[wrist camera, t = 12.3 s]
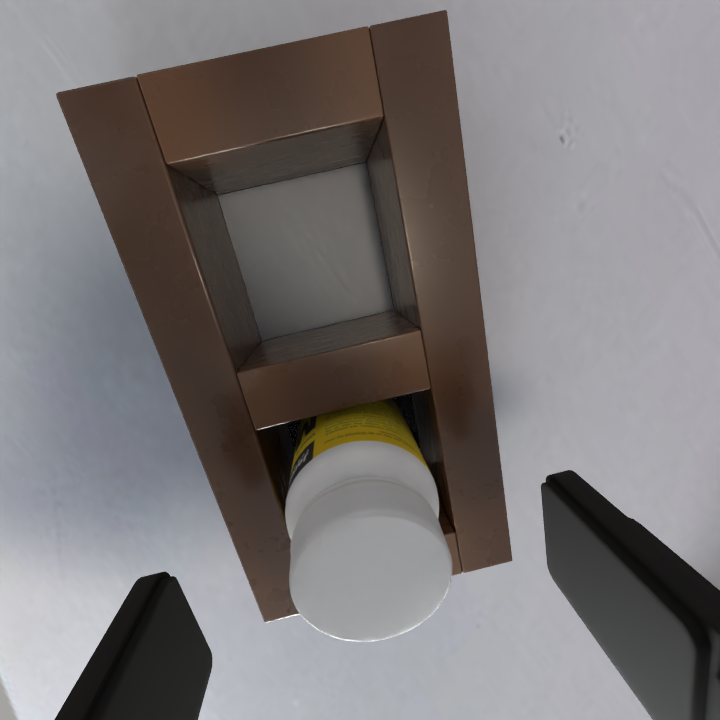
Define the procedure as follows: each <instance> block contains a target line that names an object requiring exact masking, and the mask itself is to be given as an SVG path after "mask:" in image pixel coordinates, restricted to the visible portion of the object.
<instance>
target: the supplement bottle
mask: <svg viewBox="0 0 720 720" xmlns="http://www.w3.org/2000/svg"><path fill="white" fill-rule="evenodd" d="M438 517H439V498H438V492H437V487H436V484H435V481H434V479H433V476H432V474H431V472H430V470H429V468H428V466H427V464H426V462H425V460H424V458H423V456H422V454H421V452H420V450H419V448H418V446H417V444H416V442H415V439H414V437H413V435H412V433H411V431H410V429H409V427H408V425H407V423H406V420H405V418H404V416H403V414H402V412H401V409H400V407H399V406H398V404H397V402H396V400H395V399H394V397H393V398H389V399H385V400H381V401H376V402H372V403H368V404H364V405H360V406H355V407H351V408H347V409H343V410H339V411H335V412H330V413H326V414H322V415H318V416H314V417H309V418H305V419H301V420H300V421H299V427H298V433H297V439H296V445H295V451H294V457H293V463H292V469H291V474H290V480H289V486H288V491H287V497H286V508H285V518H286V526H287V530H288V534H289V537H290V539H291V547H290V553H291V561H290V573H289V586H290V593H291V597H292V600H293V602H294V605H295V607H296V609H297V610H298V612H299V613H300V615H301V616H302V617H303V618H304V619H305V620H306V621H307V622H308V623H309V624H310V625H311V626H313V627H314V628H315V629H317V630H318V631H320V632H322V633H324V634H326V635H329V636H331V637H334V638H338V639H342V640H346V641H354V642H369V641H377V640H382V639H387V638H391V637H394V636H397V635H400V634H402V633H405V632H407V631H409V630H411V629H413V628H414V627H416V626H418V625H419V624H421V623H422V622H423V621H425V620H426V619H427V618H428V617H429V616H430V615H432V614H433V613H434V611H435V610H436V609H437V608H438V607H439V605H440V604H441V602H442V601H443V599H444V597H445V596H446V594H447V592H448V589H449V587H450V583H451V577H452V558H451V554H450V550H449V548H448V545H447V542H446V539H445V537H444V534H443V532H442V529H441V527H440V523H439V521H438Z"/></svg>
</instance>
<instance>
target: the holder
mask: <svg viewBox="0 0 720 720" xmlns="http://www.w3.org/2000/svg"><path fill="white" fill-rule="evenodd" d="M56 95H57V99H58V101H59V104H60V106H61V109H62V111H63V114H64V116H65V119H66V121H67V124H68V126H69V129H70V132H71V134H72V137H73V139H74V142H75V144H76V147H77V149H78V152H79V154H80V157H81V159H82V162H83V164H84V167H85V169H86V172H87V174H88V177H89V180H90V182H91V185H92V187H93V190H94V192H95V195H96V197H97V200H98V202H99V205H100V207H101V210H102V212H103V215H104V217H105V220H106V223H107V225H108V228H109V230H110V233H111V235H112V238H113V240H114V243H115V245H116V248H117V250H118V253H119V255H120V258H121V260H122V263H123V265H124V268H125V271H126V273H127V276H128V278H129V281H130V283H131V286H132V288H133V291H134V293H135V296H136V298H137V301H138V303H139V306H140V308H141V311H142V313H143V316H144V319H145V321H146V324H147V326H148V329H149V331H150V334H151V336H152V339H153V341H154V344H155V346H156V349H157V351H158V354H159V356H160V359H161V361H162V364H163V367H164V369H165V372H166V374H167V377H168V379H169V382H170V384H171V387H172V389H173V392H174V394H175V397H176V399H177V402H178V404H179V407H180V409H181V412H182V415H183V417H184V420H185V422H186V425H187V427H188V430H189V432H190V435H191V437H192V440H193V442H194V445H195V447H196V450H197V452H198V455H199V457H200V460H201V463H202V465H203V468H204V470H205V473H206V475H207V478H208V480H209V483H210V485H211V488H212V490H213V493H214V495H215V498H216V500H217V503H218V505H219V508H220V511H221V513H222V516H223V518H224V521H225V523H226V526H227V528H228V531H229V533H230V536H231V538H232V541H233V543H234V546H235V548H236V551H237V554H238V556H239V559H240V561H241V564H242V566H243V569H244V571H245V574H246V576H247V579H248V581H249V584H250V586H251V589H252V591H253V594H254V596H255V599H256V602H257V604H258V607H259V609H260V612H261V614H262V617H263V619H264V622H271V621H275V620H279V619H283V618H287V617H291V616H294V615H298V614H300V613H299V612H298V610H297V609H296V607H295V605H294V602H293V600H292V597H291V593H290V586H289V573H290V561H291V553H290V547H291V539H290V537H289V534H288V530H287V526H286V518H285V508H286V497H287V491H288V486H289V480H290V474H291V469H292V463H293V457H294V451H295V450H294V446H293V443H292V440H291V436H290V433H289V430H288V427H287V423H288V422H293V421H297V420H301V419H305V418H309V417H314V416H318V415H322V414H326V413H330V412H335V411H339V410H343V409H347V408H351V407H355V406H360V405H364V404H368V403H372V402H376V401H381V400H385V399H389V398H393V397H397V396H402V395H406V394H410V393H411V398H412V403H413V409H414V414H415V419H416V424H417V430H418V435H419V440H420V445H421V451H422V456H423V458H424V460H425V462H426V464H427V466H428V468H429V470H430V472H431V474H432V476H433V479H434V481H435V484H436V487H437V492H438V498H439V517H438V521H439V523H440V527H441V529H442V532H443V534H444V537H445V539H446V542H447V545H448V548H449V550H450V554H451V558H452V576H453V575H457V574H461V573H462V572H463V573H466V572H470V571H474V570H478V569H482V568H486V567H490V566H494V565H498V564H502V563H506V562H509V561H512V554H511V546H510V537H509V529H508V521H507V512H506V504H505V495H504V487H503V478H502V470H501V462H500V453H499V445H498V436H497V428H496V420H495V411H494V403H493V394H492V386H491V378H490V369H489V361H488V352H487V344H486V336H485V327H484V319H483V310H482V302H481V294H480V285H479V277H478V268H477V260H476V251H475V243H474V235H473V226H472V218H471V209H470V201H469V193H468V184H467V176H466V167H465V159H464V151H463V142H462V134H461V125H460V117H459V109H458V100H457V92H456V83H455V75H454V67H453V58H452V50H451V41H450V33H449V25H448V16H447V11H446V10H443V11H439V12H434V13H429V14H424V15H420V16H415V17H410V18H405V19H401V20H396V21H391V22H386V23H382V24H377V25H372V26H370V27H369V28H368V27H367V26H366V27H362V28H357V29H352V30H348V31H343V32H338V33H333V34H329V35H324V36H319V37H314V38H310V39H305V40H300V41H295V42H291V43H286V44H281V45H276V46H272V47H267V48H262V49H257V50H253V51H248V52H243V53H238V54H234V55H229V56H224V57H219V58H215V59H210V60H205V61H200V62H196V63H191V64H186V65H181V66H177V67H172V68H167V69H162V70H158V71H153V72H148V73H144V74H139V75H137V78H136V77H129V78H124V79H120V80H115V81H110V82H105V83H101V84H96V85H91V86H86V87H82V88H77V89H72V90H67V91H63V92H58V93H57V94H56ZM366 161H367V167H368V172H369V177H370V182H371V188H372V193H373V198H374V203H375V209H376V214H377V219H378V224H379V230H380V235H381V240H382V245H383V251H384V256H385V261H386V267H387V272H388V277H389V282H390V288H391V293H392V298H393V303H394V309H395V311H389V312H385V313H381V314H376V315H372V316H368V317H363V318H359V319H355V320H350V321H346V322H342V323H338V324H333V325H329V326H325V327H320V328H316V329H312V330H307V331H303V332H299V333H295V334H290V335H286V336H282V337H277V338H273V339H269V340H264V341H262V342H261V338H260V335H259V332H258V329H257V325H256V322H255V319H254V316H253V312H252V309H251V306H250V302H249V299H248V296H247V293H246V289H245V286H244V283H243V280H242V276H241V273H240V270H239V267H238V263H237V260H236V257H235V253H234V250H233V247H232V244H231V240H230V237H229V234H228V231H227V227H226V224H225V221H224V218H223V214H222V211H221V208H220V204H219V201H218V198H217V195H216V194H223V193H227V192H232V191H236V190H241V189H245V188H250V187H255V186H259V185H264V184H268V183H273V182H277V181H282V180H286V179H291V178H295V177H300V176H304V175H309V174H313V173H318V172H322V171H327V170H332V169H336V168H341V167H345V166H350V165H354V164H359V163H363V162H366Z"/></svg>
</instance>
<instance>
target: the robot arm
mask: <svg viewBox="0 0 720 720" xmlns="http://www.w3.org/2000/svg"><path fill="white" fill-rule="evenodd" d="M541 493H542V506H543V518H544V530H545V543H546V555H547V565H548V569H549V572H550V574H551V576H552V578H553V580H554V581H555V583H556V584H557V586H558V587H559V589H560V590H561V591H562V593H563V594H564V596H565V597H566V598H567V600H568V601H569V603H570V604H571V605H572V607H573V608H574V610H575V611H576V612H577V614H578V615H579V617H580V618H581V619H582V621H583V622H584V624H585V625H586V627H587V628H588V629H589V631H590V632H591V634H592V635H593V636H594V638H595V639H596V641H597V642H598V643H599V645H600V646H601V648H602V649H603V650H604V652H605V653H606V655H607V656H608V657H609V659H610V660H611V662H612V663H613V664H614V666H615V667H616V669H617V670H618V671H619V673H620V674H621V676H622V677H623V679H624V680H625V681H626V683H627V684H628V686H629V687H630V688H631V690H632V691H633V693H634V694H635V695H636V697H637V698H638V700H639V701H640V702H641V704H642V705H643V707H644V708H645V709H646V711H647V712H648V714H649V715H650V716H651V718H652V719H653V720H720V590H718V589H717V588H716V587H715V586H714V585H712V584H711V583H710V582H709V581H708V580H706V579H705V578H704V577H703V576H702V575H701V574H699V573H698V572H697V571H696V570H695V569H693V568H692V567H691V566H690V565H689V564H687V563H686V562H685V561H684V560H683V559H681V558H680V557H679V556H678V555H677V554H676V553H674V552H673V551H672V550H671V549H670V548H668V547H667V546H666V545H665V544H664V543H662V542H661V541H660V540H659V539H658V538H656V537H655V536H654V535H653V534H652V533H651V532H649V531H648V530H647V529H646V528H645V527H643V526H642V525H641V524H640V523H638V522H637V521H635V520H634V519H631V518H628V517H627V516H625V515H624V514H623V513H622V512H621V511H620V510H618V509H617V508H616V507H615V506H614V505H613V504H611V503H610V502H609V501H608V500H607V499H606V498H604V497H603V496H602V495H601V494H600V493H599V492H597V491H596V490H595V489H594V488H593V487H591V486H590V485H589V484H588V483H587V482H586V481H584V480H583V479H582V478H581V477H580V476H579V475H577V474H576V473H575V472H573V471H571V470H568V471H564V472H560V473H556V474H552V475H548V476H547V478H546V482H545V483H542V485H541ZM211 669H212V653H211V650H210V648H209V646H208V644H207V642H206V640H205V638H204V635H203V633H202V631H201V629H200V627H199V625H198V623H197V621H196V619H195V616H194V614H193V612H192V610H191V608H190V606H189V604H188V602H187V600H186V597H185V595H184V593H183V591H182V589H181V587H180V585H179V583H178V580H177V579H176V577H174V576H172V577H170V575H169V574H168V573H167V572H161V573H157V574H153V575H149V576H145V577H141V578H139V579H138V580H137V581H136V582H135V584H134V585H133V587H132V589H131V591H130V592H129V594H128V596H127V597H126V599H125V601H124V602H123V604H122V606H121V608H120V609H119V611H118V613H117V614H116V616H115V618H114V619H113V621H112V623H111V625H110V626H109V628H108V630H107V631H106V633H105V635H104V636H103V638H102V640H101V642H100V643H99V645H98V647H97V648H96V650H95V652H94V653H93V655H92V657H91V659H90V660H89V662H88V664H87V665H86V667H85V669H84V670H83V672H82V674H81V676H80V677H79V679H78V681H77V682H76V684H75V686H74V687H73V689H72V691H71V693H70V694H69V696H68V698H67V699H66V701H65V703H64V704H63V706H62V708H61V710H60V711H59V713H58V715H57V716H56V718H55V720H198V716H199V713H200V709H201V706H202V702H203V698H204V695H205V691H206V688H207V684H208V680H209V677H210V673H211Z"/></svg>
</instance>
